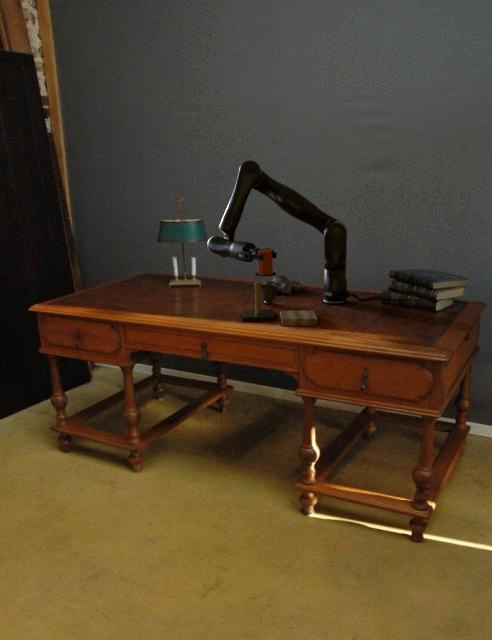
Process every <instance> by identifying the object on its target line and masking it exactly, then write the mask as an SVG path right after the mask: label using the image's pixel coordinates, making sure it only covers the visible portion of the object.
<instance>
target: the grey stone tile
mask: <svg viewBox="0 0 492 640" xmlns="http://www.w3.org/2000/svg"><path fill="white" fill-rule="evenodd" d="M279 315H280V317H279V318H280V322H281V325H282V327H294V326H297V327H298V326H299V327H300V326H318V317H317V315H316V313H315V311H314V309H306V310H305V309H304V310H280V311H279Z"/></svg>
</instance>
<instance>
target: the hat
mask: <svg viewBox="0 0 492 640" xmlns="http://www.w3.org/2000/svg"><path fill="white" fill-rule="evenodd" d="M263 249H264V250H258V253H259V254H263V260H257V263H258V265H257V267H258V268H257V269H258V272H255V273H254V275H255V276H256V277H263V278H265V277H275V276H277V273H276V272H274V270H273V266H274V265H273V258H272V250H273V249H272V250H269V249H270V248H269V249H265V248H263Z"/></svg>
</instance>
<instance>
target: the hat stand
mask: <svg viewBox="0 0 492 640" xmlns="http://www.w3.org/2000/svg"><path fill="white" fill-rule="evenodd" d="M261 285H262V284H261V282H260V281H257V282H254V302H255V303H254V305H255V307H254V308H255V309H242V317H243V318H242V320H243V322H269V321H275V320H276V319H275V313H274V309H273V308H267V309H266V308H265V309H264V308H263V309H262V298H261Z"/></svg>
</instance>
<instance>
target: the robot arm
mask: <svg viewBox="0 0 492 640" xmlns="http://www.w3.org/2000/svg"><path fill="white" fill-rule="evenodd" d="M252 190H255V191H256V192H258V193H260V194H262V195H263V196H265V197H266V198H267V199H268V200H270V202H272V203H273V204H274V205H275V206H277V207H278V208H279V209H281V210H282V211H283V212H284V213H286V214H288V215H289V216H291V218H293V219H296V220H297V221H300V222H301V223H304V224H307V225H308V226H311V227H313V228H314V229H315V230H317V231H318V232H320V234H322V235H323V299H322V300H323V301H322V302H323V303H324V304H328V305H342V304H347V299H350V297H354V298H355V299H356V300H357V301H359V302H365V301H370V300H377V299H382V297H381V296H382V295H381V296H380V295H379V296H378V295H377V296H376V295H375V296H370V297H365V298H360V297H359V296H358V295H357V294H354V293H351V292H350V291H349V289H348V280H347V260H348V259H347V258H348V254H347V250H348V249H347V248H348V247H347V246H348V245H347V244H348V231H349V230H348V228H347V225H346V223H344V222H343V221H341V220H339V219H337V218H335V217H333V216H331V215H330V214H328V213H326V212H324V211H323V210H321V209H320V207H318V206H317V205H315V203H313V202H312V201H311V200H309V199H308V198H307V197H305V196H304V195H302V193H300V192H298V191H296V190H295V189H294V188H291V186H288V185H286V184H283V183H282V182H279V181H277V180H276V179H274V178H272V177H271V176H270V175H269V174H267V173H266V172H265V171H264V170H263V169H262V168H261V166H260V165H259V163H258V162H256V161H255V160H250V159H249V160H245V161H244V162H242V163H241V164H240V166H239V168H238V173H237V178H236V182H235V185H234V188H233V192H232V195H231V197H230V199H229V202H228V204H227V206H226V209H225V211H224V213H223V216H222V217H221V220H220V223H219V226H218V230H219V231H220V232H222V233H223V237H222V236H219V235H213V236H211V237H210V238H209V239H207V243H206V246H207V247H206V248H207V250H208V251H209V252H210V253H211V254H214V255H216V256H218V257H220V258H229V259H233V260H235V261H236V260H237V261H240V262H245V263H253V261H256V260H257V261H258V260H263V254H259V253H258V250H264V249H269V250H272V259H277V257H278V255H277V252H276V251H275V250H274V249H272V248H269V247H265V248H260V247H257V246H256V245H255V243H253V242H249V241H243V240H235V237H236V232H237V229H238V227H239V225H240V222H241V219H242V216H243V214H244V210H245V206H246V203H247V201H248V198H249V195H250V194H251V192H252ZM382 300H383V299H382Z"/></svg>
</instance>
